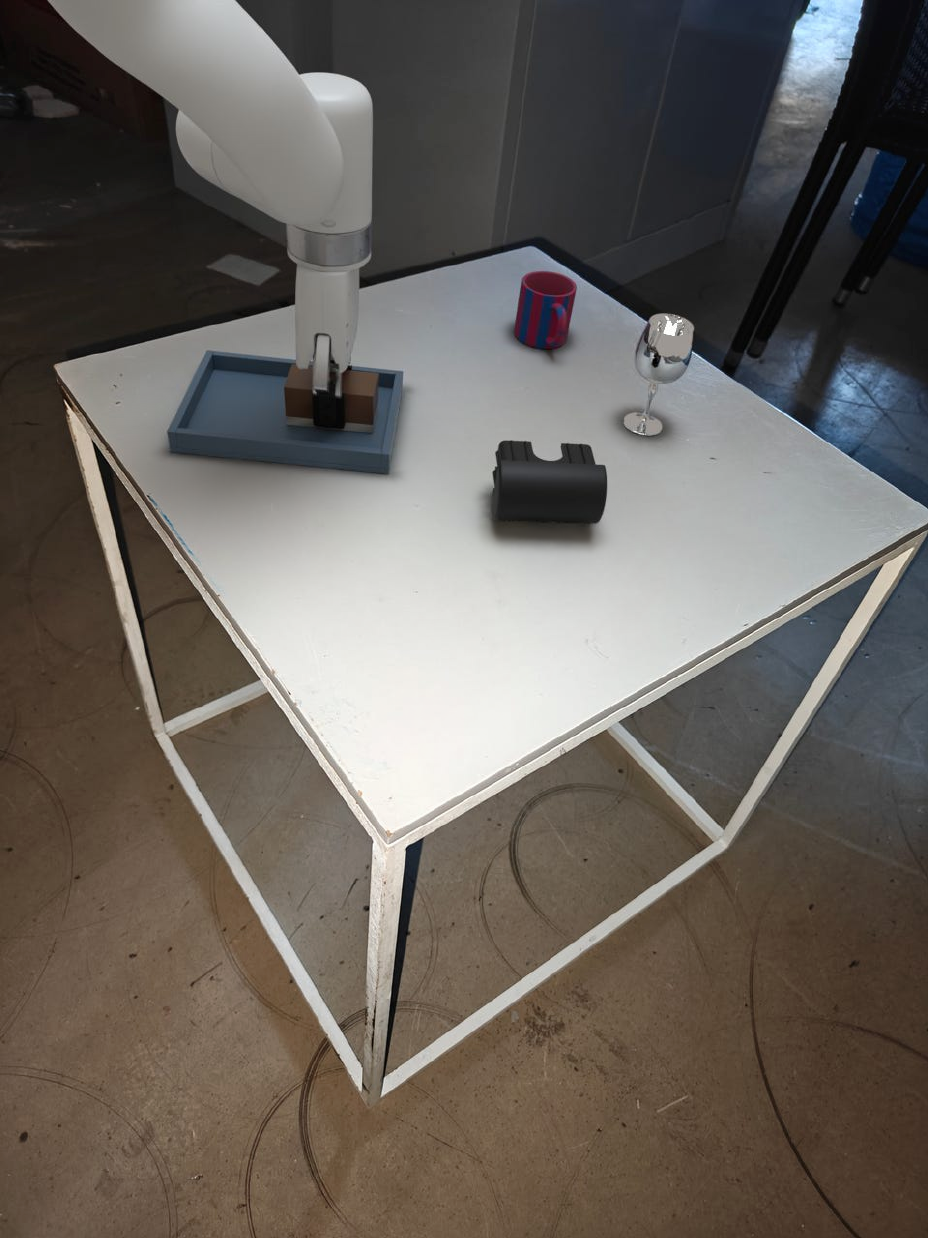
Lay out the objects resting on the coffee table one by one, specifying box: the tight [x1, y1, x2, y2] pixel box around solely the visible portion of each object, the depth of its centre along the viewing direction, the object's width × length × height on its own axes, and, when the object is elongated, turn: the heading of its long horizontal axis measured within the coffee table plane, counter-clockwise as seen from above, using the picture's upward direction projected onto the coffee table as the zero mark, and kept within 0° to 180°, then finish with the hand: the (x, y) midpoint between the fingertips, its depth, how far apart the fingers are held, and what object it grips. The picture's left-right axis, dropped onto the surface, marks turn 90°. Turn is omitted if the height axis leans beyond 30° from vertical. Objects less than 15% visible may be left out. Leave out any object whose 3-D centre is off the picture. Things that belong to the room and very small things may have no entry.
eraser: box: [284, 364, 379, 433], centre depth 89 cm, size 9×4×4 cm, turn 88°
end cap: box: [490, 439, 608, 525], centre depth 81 cm, size 10×7×7 cm
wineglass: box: [622, 313, 695, 437], centre depth 92 cm, size 6×6×12 cm
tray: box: [166, 349, 404, 475], centre depth 90 cm, size 22×16×2 cm
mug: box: [513, 270, 578, 350], centre depth 105 cm, size 7×10×7 cm
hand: (333, 410), depth 90 cm, fingers closed on eraser, 4 cm apart
